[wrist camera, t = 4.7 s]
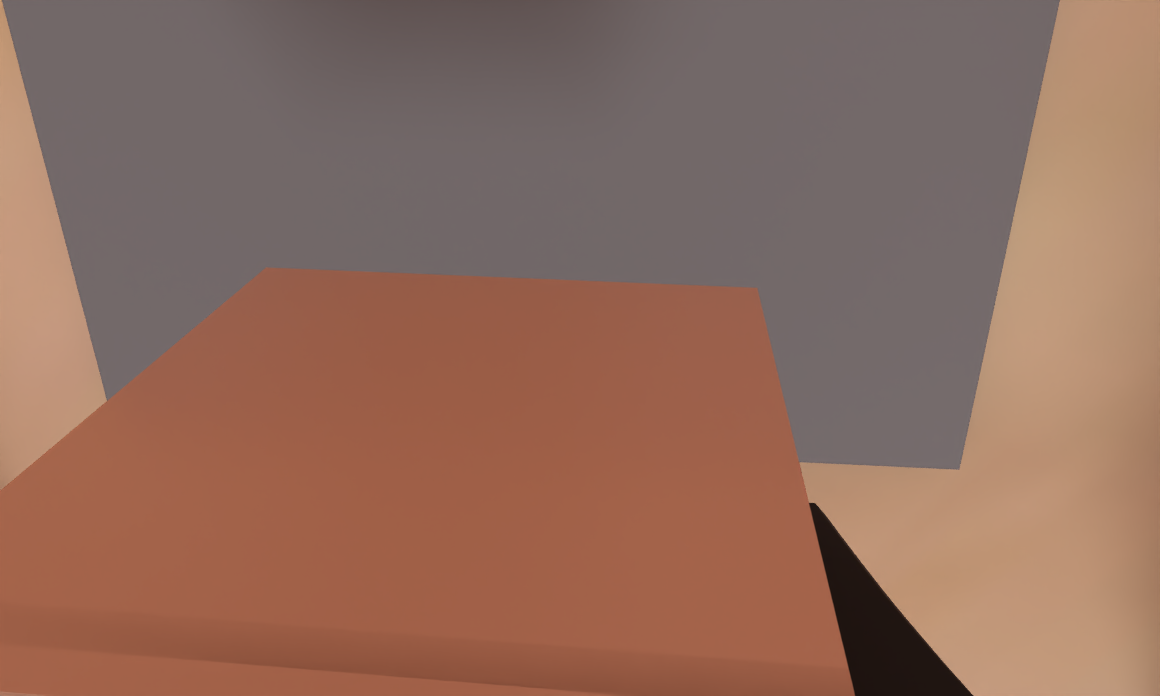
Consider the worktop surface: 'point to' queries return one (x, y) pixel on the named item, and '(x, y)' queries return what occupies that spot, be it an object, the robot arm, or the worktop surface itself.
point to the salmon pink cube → (429, 503)
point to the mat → (562, 168)
